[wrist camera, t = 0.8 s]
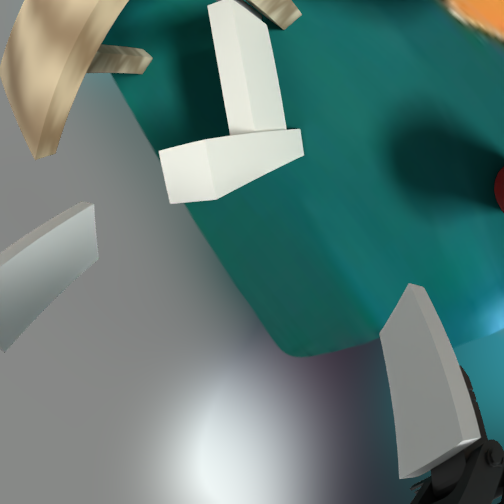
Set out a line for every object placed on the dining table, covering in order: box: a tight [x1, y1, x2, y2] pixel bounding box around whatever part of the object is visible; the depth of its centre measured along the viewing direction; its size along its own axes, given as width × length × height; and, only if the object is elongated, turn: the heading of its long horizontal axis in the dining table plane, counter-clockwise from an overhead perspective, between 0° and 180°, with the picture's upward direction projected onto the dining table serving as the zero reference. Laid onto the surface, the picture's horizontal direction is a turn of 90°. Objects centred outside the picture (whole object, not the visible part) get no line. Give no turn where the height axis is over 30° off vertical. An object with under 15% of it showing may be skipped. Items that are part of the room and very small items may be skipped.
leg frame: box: [159, 0, 304, 204], centre depth 18 cm, size 17×3×19 cm, turn 10°
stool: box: [0, 0, 302, 160], centre depth 17 cm, size 20×16×22 cm
